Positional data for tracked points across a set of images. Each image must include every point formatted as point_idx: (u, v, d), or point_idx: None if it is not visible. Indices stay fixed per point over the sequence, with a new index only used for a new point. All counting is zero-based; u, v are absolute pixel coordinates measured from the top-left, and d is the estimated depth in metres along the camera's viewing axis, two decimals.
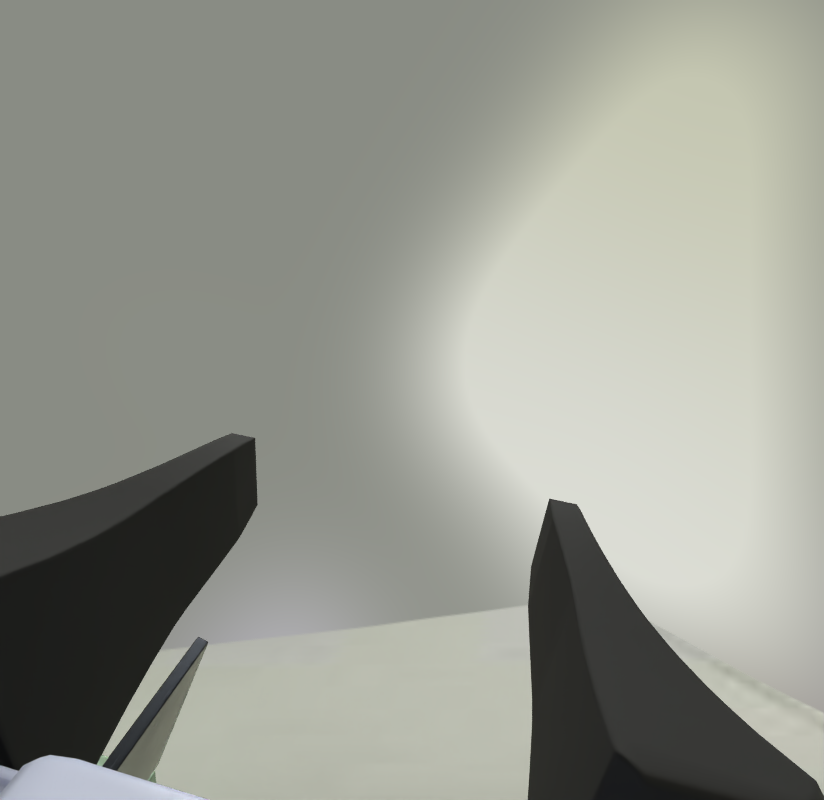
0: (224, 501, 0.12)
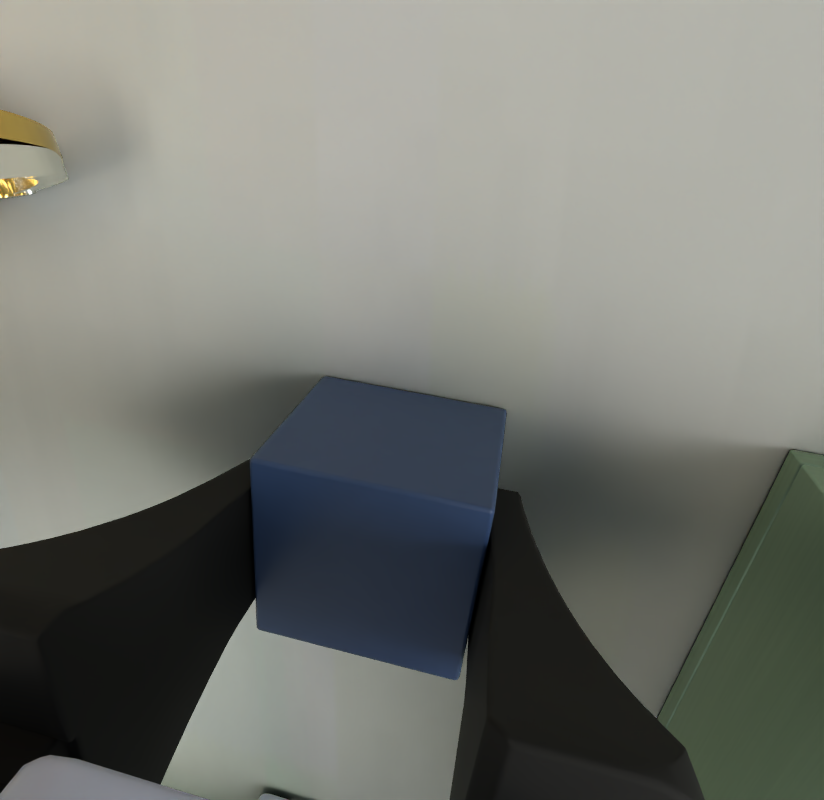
0: None
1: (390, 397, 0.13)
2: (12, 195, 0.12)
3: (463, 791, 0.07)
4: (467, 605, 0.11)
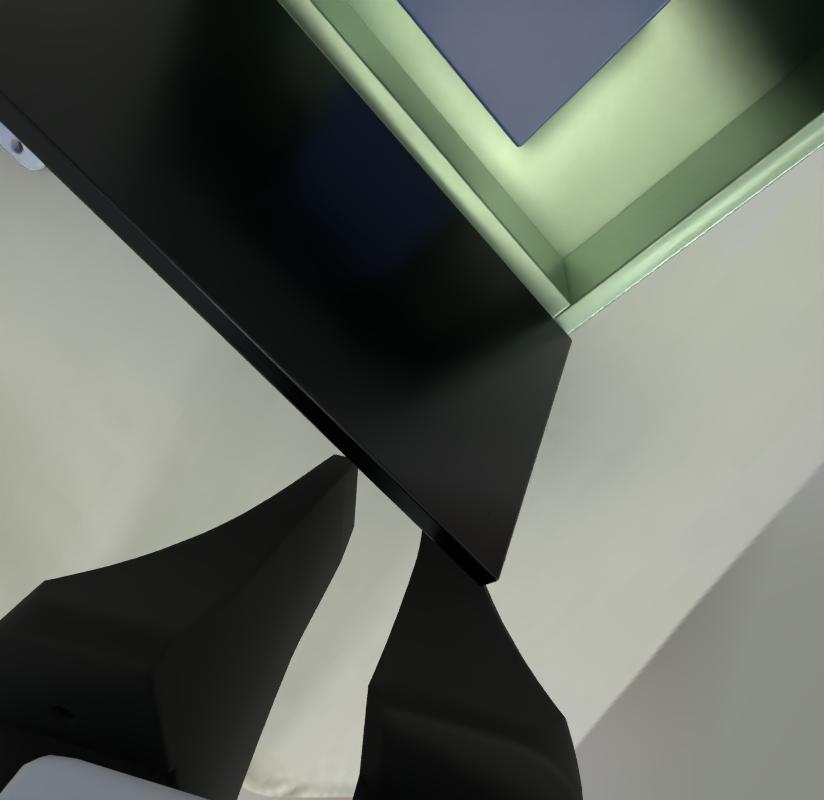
0: (334, 525, 0.12)
1: None
2: None
3: None
4: (589, 71, 0.13)
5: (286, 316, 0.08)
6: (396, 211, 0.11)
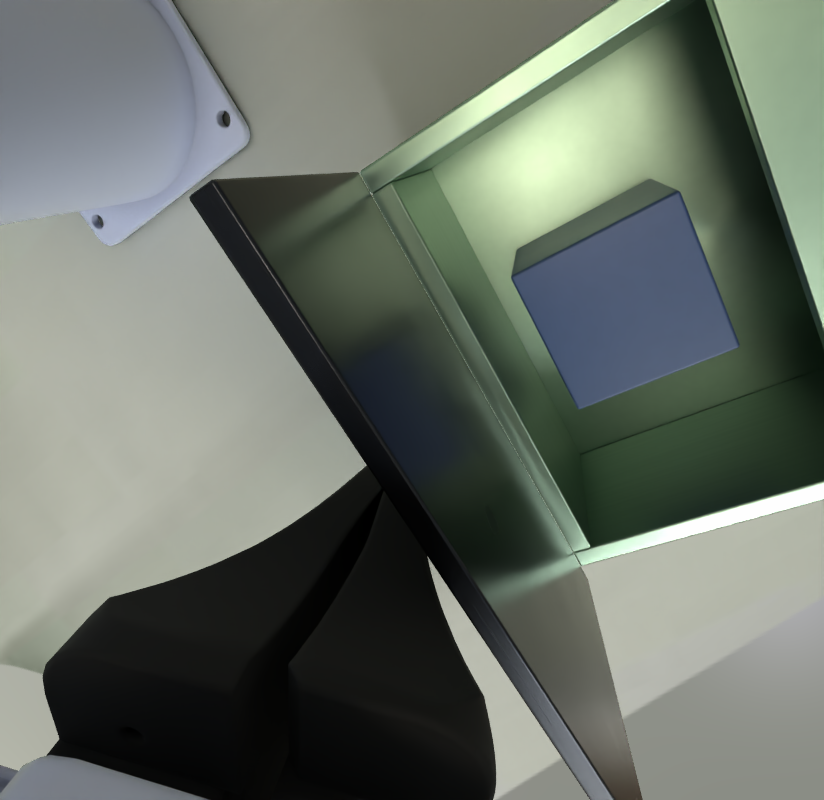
0: None
1: None
2: None
3: None
4: (651, 378, 0.16)
5: (538, 647, 0.09)
6: (517, 492, 0.13)
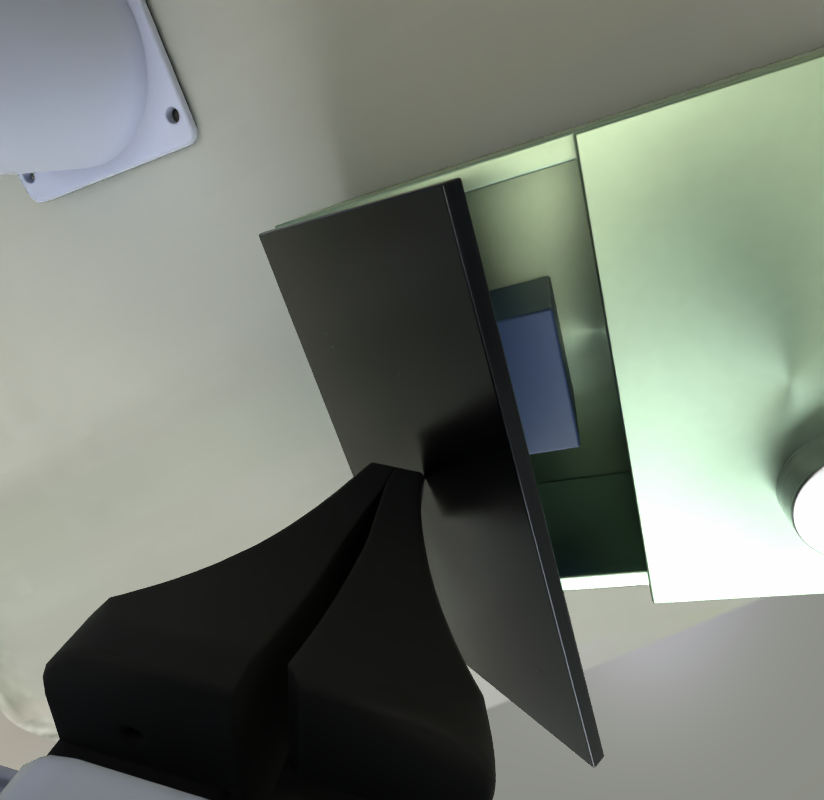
0: None
1: None
2: None
3: None
4: None
5: None
6: None
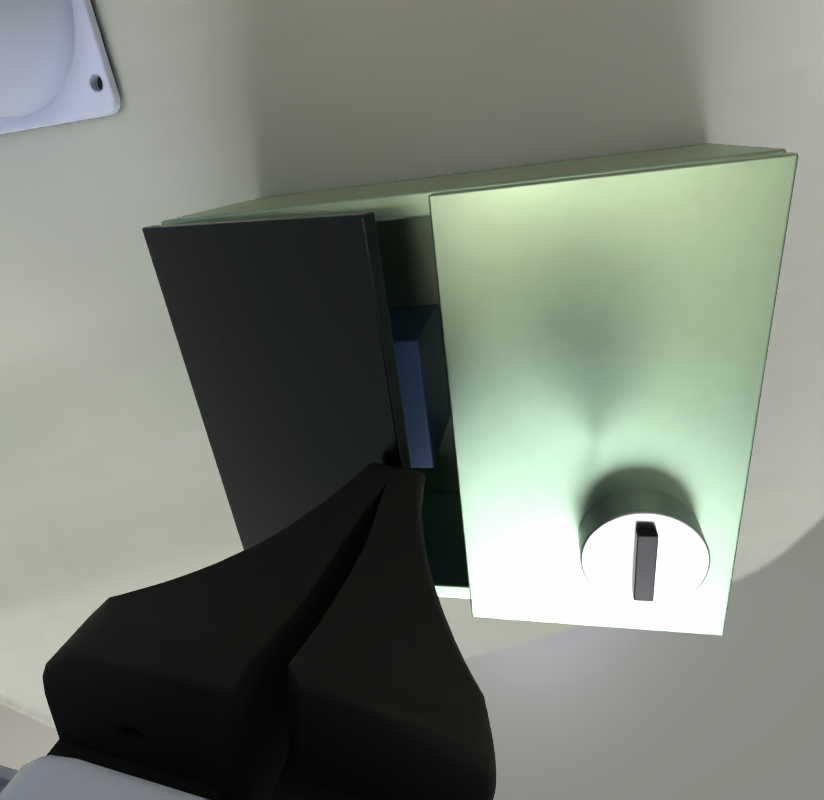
0: None
1: (442, 356, 0.20)
2: None
3: None
4: None
5: None
6: None
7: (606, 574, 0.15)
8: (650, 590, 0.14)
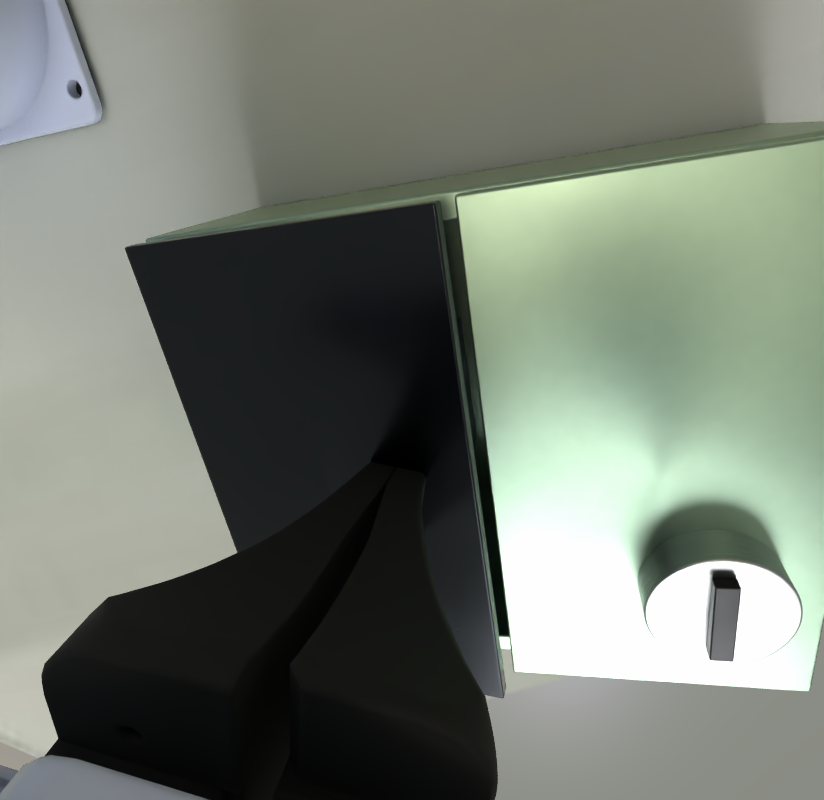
0: None
1: (466, 375, 0.18)
2: None
3: None
4: None
5: None
6: None
7: (674, 629, 0.13)
8: (730, 649, 0.12)
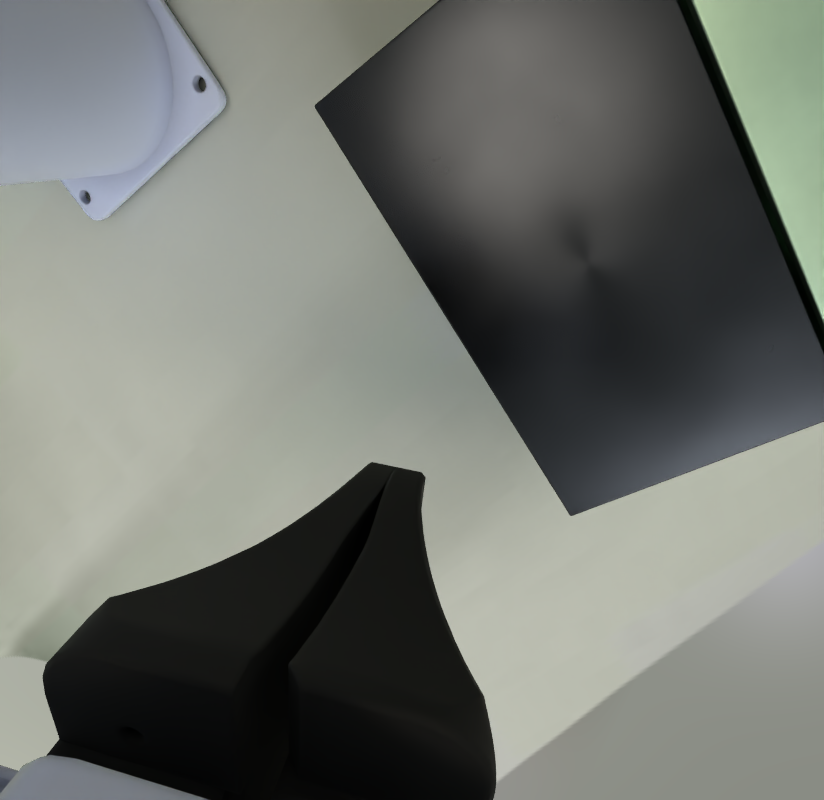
0: None
1: None
2: None
3: None
4: None
5: None
6: None
7: None
8: None
